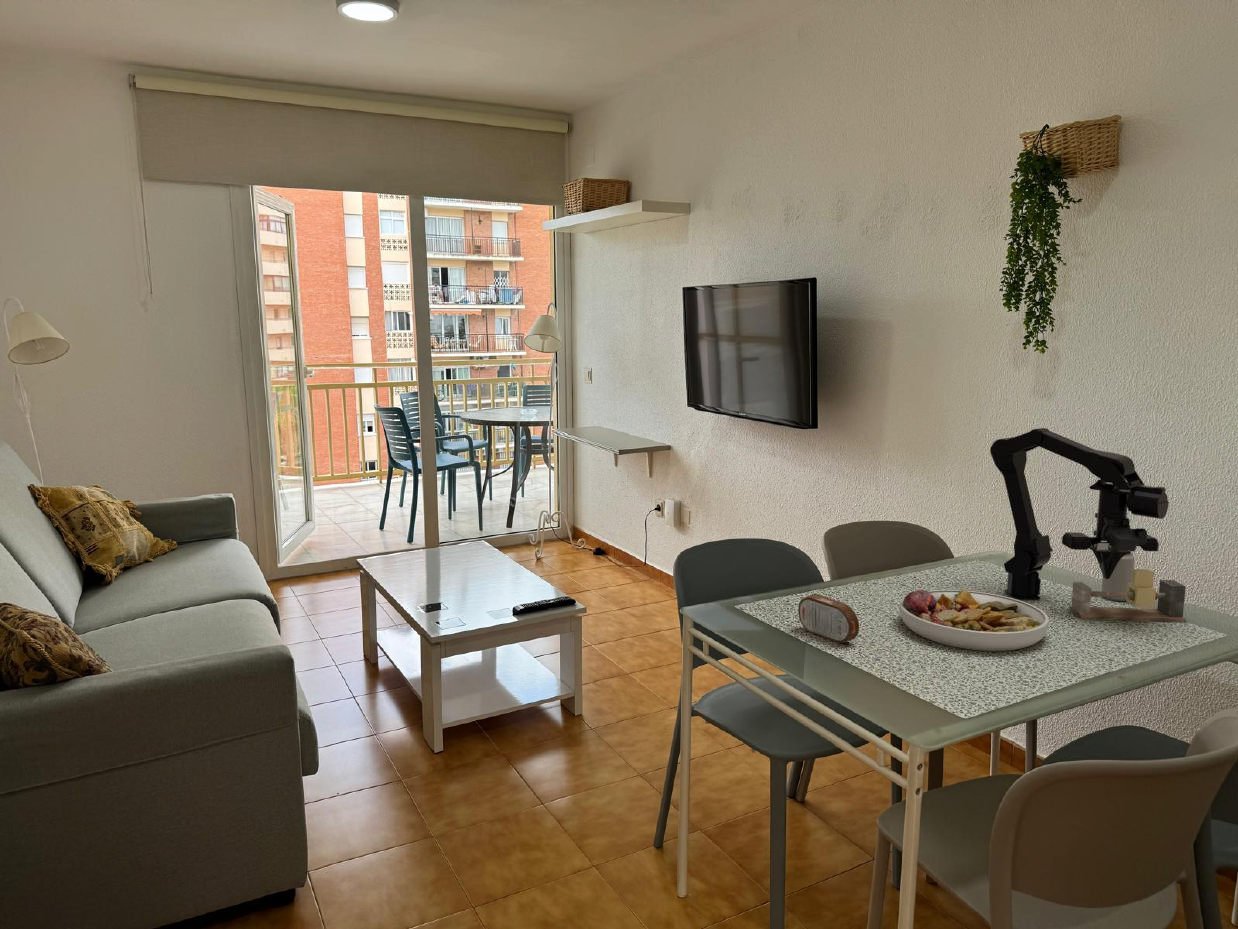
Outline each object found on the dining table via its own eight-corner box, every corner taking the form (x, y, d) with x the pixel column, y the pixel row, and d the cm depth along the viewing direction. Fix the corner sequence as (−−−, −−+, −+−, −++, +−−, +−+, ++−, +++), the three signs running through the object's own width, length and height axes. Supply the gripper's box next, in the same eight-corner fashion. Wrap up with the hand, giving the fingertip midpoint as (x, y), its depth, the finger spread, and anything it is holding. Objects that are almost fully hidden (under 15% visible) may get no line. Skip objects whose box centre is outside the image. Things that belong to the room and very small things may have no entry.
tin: (859, 645, 181) (861, 606, 180) (849, 649, 179) (850, 609, 178) (805, 626, 193) (806, 589, 192) (795, 629, 191) (796, 592, 190)
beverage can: (1136, 602, 209) (1140, 553, 208) (1109, 602, 210) (1113, 553, 208) (1122, 594, 216) (1126, 547, 214) (1095, 594, 216) (1099, 547, 214)
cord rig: (1081, 619, 197) (1084, 585, 196) (1069, 609, 204) (1071, 576, 203) (1184, 622, 195) (1188, 587, 194) (1168, 612, 202) (1171, 578, 200)
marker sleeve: (1135, 607, 197) (1138, 572, 195) (1126, 601, 201) (1129, 567, 200) (1154, 607, 196) (1157, 573, 195) (1144, 601, 201) (1147, 568, 199)
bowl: (1032, 616, 200) (1035, 583, 199) (1061, 663, 172) (1064, 624, 171) (896, 605, 208) (897, 573, 207) (901, 649, 180) (903, 612, 179)
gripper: (1084, 518, 189) (1079, 587, 191) (1175, 519, 187) (1168, 590, 190) (1063, 507, 200) (1058, 573, 202) (1148, 509, 198) (1142, 575, 201)
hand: (1106, 578), depth 198 cm, fingers closed
